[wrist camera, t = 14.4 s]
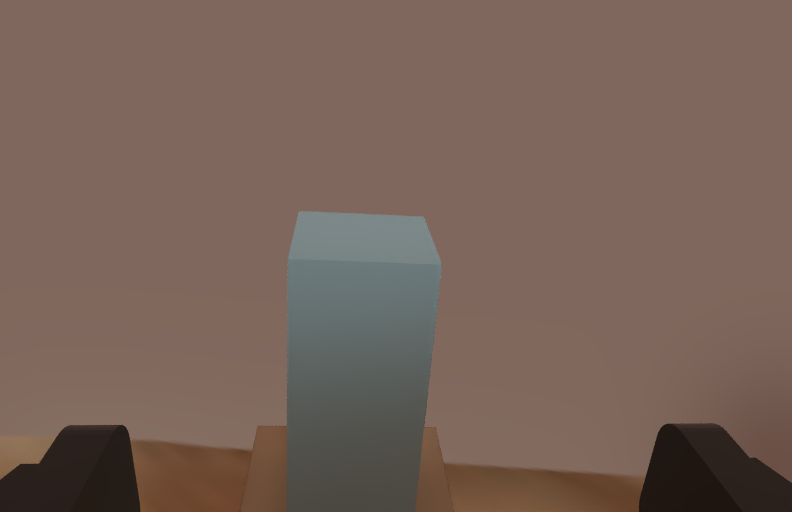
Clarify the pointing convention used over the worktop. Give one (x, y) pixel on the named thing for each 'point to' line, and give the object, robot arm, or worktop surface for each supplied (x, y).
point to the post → (358, 360)
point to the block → (269, 474)
